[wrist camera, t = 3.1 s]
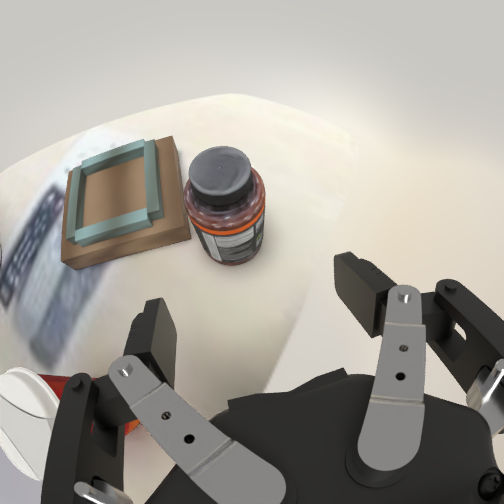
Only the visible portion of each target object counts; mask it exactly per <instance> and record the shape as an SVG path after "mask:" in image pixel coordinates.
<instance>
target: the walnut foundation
mask: <svg viewBox="0 0 504 504" xmlns="http://www.w3.org/2000/svg"><path fill="white" fill-rule="evenodd" d="M189 239H191V235H190V229H189V223H188V217H187V211H186V208H185V204H184V193H183V186H182V179H181V172H180V165H179V158H178V151H177V148H176V146H175V143H174V140H173V137H172V136H169V137H165V138H162V139H158V140H154V139H153V140H150V141H147V142H145V141H144V139H142V140H139V141H135V142H132V143H129V144H126V145H124V146H121V147H118V148H115V149H112V150H110V151H107V152H104V153H102V154H99V155H96V156H94V157H91V158H89V159H86V160H84V161H82V165H80V166H78V167H76V168H73V170H72V171H70V172H69V175H68V181H67V188H66V195H65V204H64V213H63V225H62V241H61V262H63V263H65V264H66V265H68V266H70V267H71V268H73V269H75V270H78V269H81V268H85V267H88V266H92V265H95V264H99V263H102V262H106V261H110V260H113V259H117V258H120V257H124V256H128V255H131V254H135V253H139V252H143V251H146V250H150V249H154V248H158V247H162V246H165V245H169V244H173V243H177V242H181V241H185V240H189Z"/></svg>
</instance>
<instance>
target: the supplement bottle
mask: <svg viewBox="0 0 504 504" xmlns="http://www.w3.org/2000/svg"><path fill="white" fill-rule="evenodd" d="M184 204H185V208H186V210H187V213H188V215H189V217H190V219H191V222H192V224H193V226H194V228H195V230H196V233H197V234H198V237H199V239H200V241H201V243H202V245H203V247H204V249H205V251H206V252H207V253H208V255H209V256H210V257H211V258H212V259H214V260H215V261H217V262H219V263H222V264H226V265H236V264H241V263H244V262H246V261H248V260H249V259H251V258H252V257H253V256H254V255H255V254H256V253H257V251H258V250H259V248H260V246H261V243H262V239H263V228H264V213H265V188H264V184H263V181H262V179H261V177H260V175H259V174H258V173H257V171H256V170H255V169H254V168H252V167H251V164H250V161H249V159H248V157H247V156H246V155H245V154H244V153H243V152H242V151H240V150H238V149H236V148H233V147H228V146H219V147H212V148H209V149H207V150H205V151H203V152H201V153H200V154H199V155H198V156H196V157H195V159H194V160H193V161H192V163H191V165H190V168H189V180H188V181H187V183H186V186H185V189H184Z"/></svg>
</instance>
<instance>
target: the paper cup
mask: <svg viewBox="0 0 504 504" xmlns="http://www.w3.org/2000/svg"><path fill="white" fill-rule="evenodd" d="M69 378H71V377H65V376H53V375H42V374H36V373H35V372H33V371H31V370H29V369H27V368H23V367H14V368H11V369H9V370H8V371H6V372H5V373H4V374H1V375H0V445H1V448H2V449H3V451H4V452H5V454H6V455H7V457H8V458H9V459H10V461H11V462H12V463H13V464H14V465H15V466H16V467H17V468H18V469H19V470H20V471H21V472H23V473H24V474H25V475H27V476H29V477H31V478H33V479H35V480H38V481H43V477H44V470H45V464H46V458H47V453H48V448H49V443H50V438H51V434H52V429H53V425H54V421H55V417H56V413H57V410H58V406H59V402H60V399H61V395H62V392H63V389H64V386H65V384H66V382H67V381H68V379H69ZM95 379H98V378H92V380H95ZM139 422H140V421H139V419H137V420H134V421H132V422H129V423H126V424H125V436H126V435H127V434H128V433H129V432H131V431H132V430H133V429H134V428H135V427H136V426H137V425H138V424H139ZM92 426H93V423H92ZM91 433H92V429H91Z"/></svg>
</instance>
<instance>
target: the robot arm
mask: <svg viewBox="0 0 504 504" xmlns="http://www.w3.org/2000/svg"><path fill="white" fill-rule="evenodd" d="M0 262H1V247H0ZM334 279H335V289H336V292H337V294H338V296H339V297H340V299H341V300H342V301H343V302H344V304H345V305H346V306H347V307H348V309H349V310H350V311H351V313H352V314H353V315H354V316H355V318H356V319H357V320H358V322H359V323H360V324H361V325H362V327H363V328H364V329H365V330H366V332H367V333H368V335H369V336H370V337H371V338H374V337H376V336H379V335H381V336H382V337H383V338H382V344H381V349H380V355H379V360H378V365H377V370H376V375H375V376H372V375H365V374H351V375H347V373H346V371H345V369H344V368H340V369H338V370H335V371H332V372H329V373H326V374H323V375H320V376H317V377H315V378H314V379H312V380H310V381H308V382H306V383H305V384H303V385H301V386H299V387H297V388H295V389H294V390H292V391H289V392H280V393H261V394H253V395H249V396H245V397H240V398H235V399H231V400H228V406H229V409H227V410H224V411H222V412H221V413H219V414H217V415H216V416H214V417H213V418H212V419H211V420H209V421H207V420H206V419H205V418H204V417H203V416H201V415H200V414H199V413H198V412H197V411H196V410H194V409H193V408H192V407H191V406H190V405H189V404H188V403H187V402H185V401H184V400H183V399H182V398H181V397H180V396H179V395H178V394H177V393H176V392H175V391H174V379H175V358H176V342H177V333H176V328H175V325H174V322H173V320H172V318H171V315H170V313H169V311H168V308H167V306H166V303H165V301H164V299H163V298H157V299H153V300H148V301H146V304H145V307H144V311H143V313H139V314H138V315H137V316H136V317H135V319H134V320H133V321H132V325H131V328H130V329H131V330H130V332H129V337H128V339H127V342H126V346H125V350H124V354H123V357H120V358H118V359H117V360H116V361H114V362H113V363H112V365H111V366H110V368H109V372H108V375H105V376H103V377H100V378H98V379H95V380H92V378H91V377H90V376H89V375H88V374H86V373H78V374H75V375H73V376H72V377H71V378H69V379H68V381H67V382H66V384H65V386H64V389H63V392H62V395H61V399H60V402H59V406H58V410H57V413H56V417H55V421H54V425H53V429H52V434H51V438H50V443H49V448H48V453H47V458H46V464H45V470H44V477H43V485H42V494H41V504H133V502H132V500H131V498H130V497H129V496H128V495H127V494H125V493H124V489H123V466H124V437H125V424H126V423H129V422H132V421H134V420H137V419H139V421H140V422H141V423H142V424H143V426H144V427H145V428H146V429H147V431H148V432H149V433H150V434H151V436H152V437H153V438H154V439H155V440H156V441H157V443H158V444H159V445H160V446H161V447H162V448H163V449H164V451H165V452H166V453H167V454H168V455H169V456H170V457H171V458H172V459H173V460H174V461H175V462H176V464H175V466H174V467H173V468H172V470H171V471H170V472H169V474H168V475H167V476H166V477H165V479H164V480H163V481H162V483H161V484H160V485H159V486H158V488H157V489H156V490H155V491H154V493H153V494H152V495H151V496H150V497H149V499H148V500H147V501H146V502H145V504H504V474H503V473H502V472H501V471H500V470H499V468H498V466H497V464H496V460H495V457H494V453H493V446H492V438H493V437H494V436H496V435H497V434H503V433H504V321H503V320H502V319H501V318H500V317H499V316H498V315H497V314H496V313H494V312H493V311H492V310H491V309H490V308H489V307H488V306H487V305H485V303H483V302H482V301H481V300H480V299H479V298H478V297H476V296H475V295H474V294H473V293H472V292H471V291H469V290H468V289H467V288H466V287H465V286H463V285H462V284H461V283H459V282H458V281H455V280H452V279H444V280H440V281H439V282H438V283H437V284H436V288H435V292H429V293H420V292H419V291H418V290H417V289H416V288H414V287H412V286H408V285H397V284H396V283H395V282H393V280H391V279H390V278H389V277H388V276H387V275H385V274H384V273H382V271H381V270H380V269H378V268H377V267H376V266H375V265H374V264H373V263H371V262H369V261H367V260H364V259H358V258H357V257H356V256H355V255H354V254H353V253H351V252H346V253H342V254H338V255H335V256H334ZM456 323H458V325H459V326H460V327H461V328H462V329H463V330H464V331H465V334H466V340H464V338H463V337H462V336H461V335H460V334H459V333H458V332H457V331H456V330H455V329H454V328H455V325H456ZM426 342H427V343H428V344H429V346H430V347H431V348H432V349H433V351H434V352H435V353H436V354H437V356H438V357H439V358H440V360H441V361H442V362H443V363H444V365H445V366H446V367H447V368H448V370H449V371H450V372H451V374H452V375H453V376H454V378H455V379H456V381H457V382H458V383H459V385H460V386H461V387H462V389H463V390H464V391H465V393H466V394H467V396H466V402H467V405H468V407H467V406H463V405H459V404H456V403H453V402H450V401H447V400H443V399H440V398H437V397H434V396H430V395H428V394H425V393H424V382H425V361H426ZM92 423H93V426H92ZM91 429H92V433H91Z"/></svg>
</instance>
